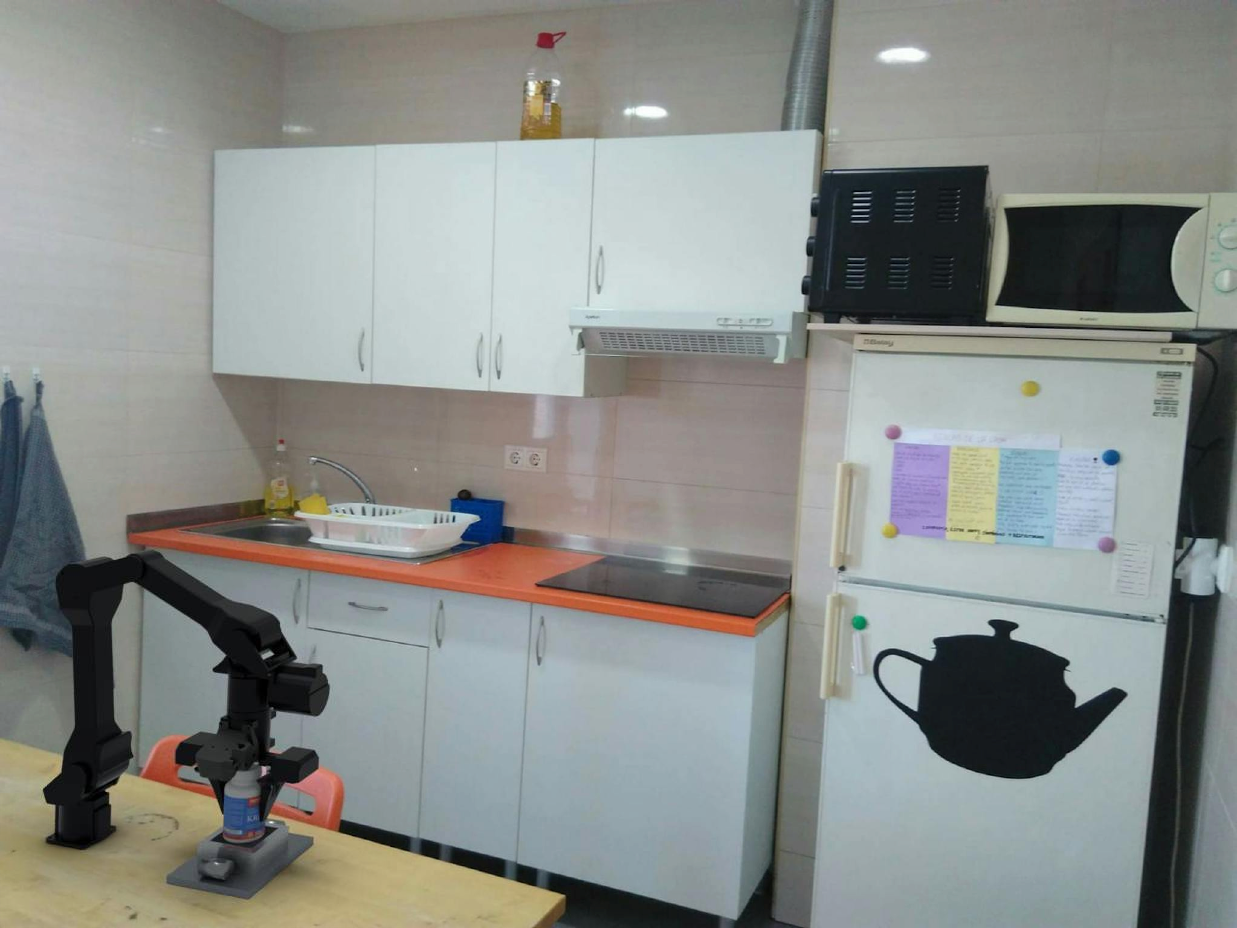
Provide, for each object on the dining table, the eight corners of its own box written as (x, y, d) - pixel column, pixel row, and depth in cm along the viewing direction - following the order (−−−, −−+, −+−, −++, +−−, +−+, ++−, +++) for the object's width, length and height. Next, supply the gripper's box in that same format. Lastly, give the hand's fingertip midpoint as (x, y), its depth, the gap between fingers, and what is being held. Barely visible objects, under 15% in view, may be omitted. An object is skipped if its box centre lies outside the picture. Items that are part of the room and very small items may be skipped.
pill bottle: (250, 847, 129) (252, 776, 129) (214, 841, 130) (216, 771, 130) (272, 829, 135) (274, 761, 134) (238, 824, 136) (239, 756, 135)
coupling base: (166, 882, 126) (167, 853, 126) (239, 830, 142) (240, 803, 142) (248, 898, 124) (249, 868, 124) (313, 843, 139) (314, 816, 139)
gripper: (148, 715, 125) (144, 831, 127) (278, 736, 121) (272, 855, 123) (202, 690, 136) (198, 797, 137) (323, 708, 132) (317, 819, 134)
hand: (244, 817), depth 132 cm, fingers closed on pill bottle, 5 cm apart
